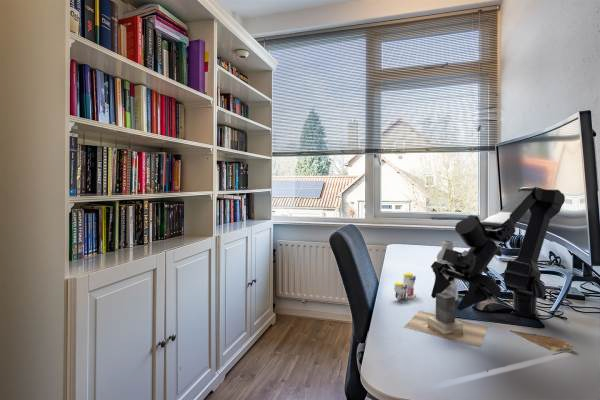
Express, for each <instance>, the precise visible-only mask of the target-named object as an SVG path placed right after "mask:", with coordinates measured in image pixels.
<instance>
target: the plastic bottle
mask: <svg viewBox="0 0 600 400" xmlns="http://www.w3.org/2000/svg"><path fill="white" fill-rule="evenodd" d="M454 248H455V242H454V241H451V240H442V241H441V249H440V250H439V251H438V253H437V255H436V261H440V262H443V263H446V264H447V265H448V266H449V267H450V268H451V269H452V270H454V271H455V269H454V268H453V267H452V266H451V264H452V263H450V262H448V261H446V260H445V261H444V260H442V257H443V255H444V252H445V249H450V250H454ZM450 283H451V285H450V286H448V287H447V288H446V289H445V290H444V291H443V292H442V293H447V294H450V295H452V296H454V297H455V302H456V301H457V300H458V297H459V291H458V287H457V286H458V285H457V279H454V280H453V281H451V282H450Z"/></svg>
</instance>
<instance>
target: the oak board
mask: <svg viewBox="0 0 600 400" xmlns="http://www.w3.org/2000/svg"><path fill="white" fill-rule="evenodd" d="M432 316H436V313H431V312H427V311H426V312H425V311H424V310H423V311H422V310H419V311H417V313H416V314H415V315H414V316H413V317H412V318H411V319H410V320H409V321H408V322H407V323H406V324H405V325H404V326H403V328H404V329H409V330H413V331H417V332H420V333H424V334H428V335H431V336H436V337H440V338H443V339H447V340H452V341H454V342H459V343H461V344H462V343H463V344H466V345H469V346H473V347H478V348H481V347H482V344H483V342H484V338H485V336H486V333H487V330H488V327H489V325H485V324H481V323H477V322H471V321H468V320H462V319H458V318H455V319H456V320H458V321H460V322H462V323H463V332H462V333H457V334H452V335H446V336H444V335H442V334H440V333H439V332H437V331H435V330H434V329H432V328H430V327H429V326H428V317H432Z"/></svg>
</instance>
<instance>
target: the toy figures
mask: <svg viewBox="0 0 600 400" xmlns="http://www.w3.org/2000/svg"><path fill="white" fill-rule="evenodd" d="M416 277H417V276H416V275H414V274H413V273H411V272H405V273H403V282H401V281H397V282H395V283H394V289H393V290H394V292H395V299H396V300H397V301H401V300H403V301H405V300H407V299H415V298H416V297H417V294H416V293H415V292H414V290H415V288H414V286H415V282H416V281H417V279H416Z"/></svg>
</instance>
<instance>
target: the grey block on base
mask: <svg viewBox="0 0 600 400" xmlns="http://www.w3.org/2000/svg"><path fill="white" fill-rule="evenodd" d="M435 314H436V316H432V317H428V326H429V327H430V328H432V329H434V330H435V331H437V332H439V333H440V334H442V335H444V336H446V335H452V334H457V333H462V332H463V323H462V322H460V321H458V320H456V319H457V318H456V301H455V297H454V296H452V295H450V294H447V293H438V294H436V297H435Z"/></svg>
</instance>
